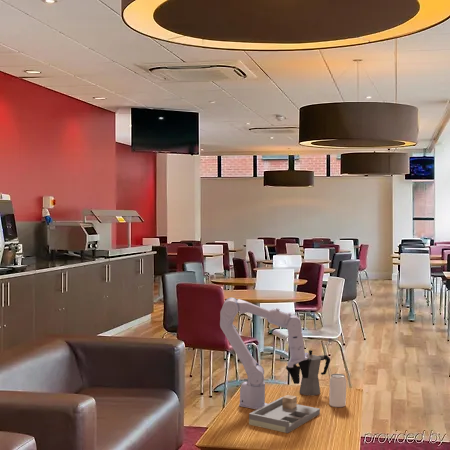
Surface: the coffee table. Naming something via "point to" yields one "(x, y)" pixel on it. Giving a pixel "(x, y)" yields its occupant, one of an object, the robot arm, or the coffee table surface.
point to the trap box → (282, 416)
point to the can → (337, 390)
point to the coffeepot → (313, 375)
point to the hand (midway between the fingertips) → (301, 380)
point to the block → (289, 402)
